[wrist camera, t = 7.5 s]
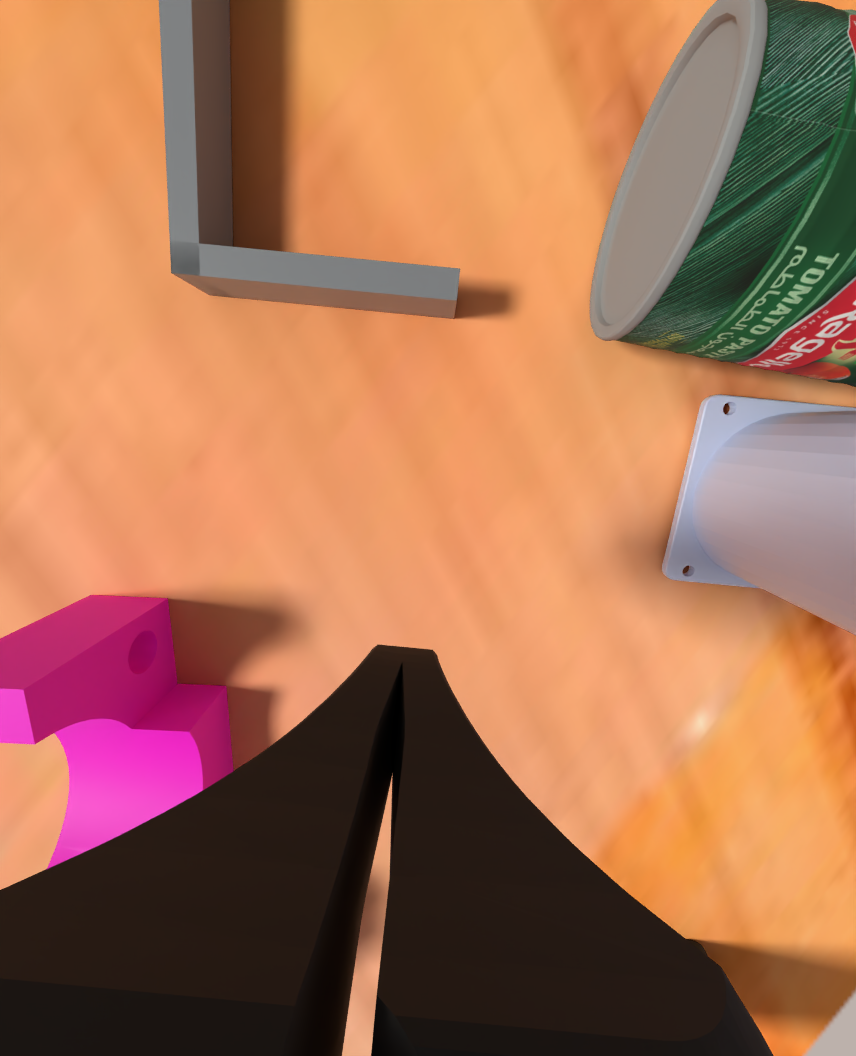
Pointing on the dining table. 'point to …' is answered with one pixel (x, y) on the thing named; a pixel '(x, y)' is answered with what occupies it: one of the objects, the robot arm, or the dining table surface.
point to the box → (206, 193)
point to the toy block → (113, 714)
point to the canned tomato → (743, 198)
